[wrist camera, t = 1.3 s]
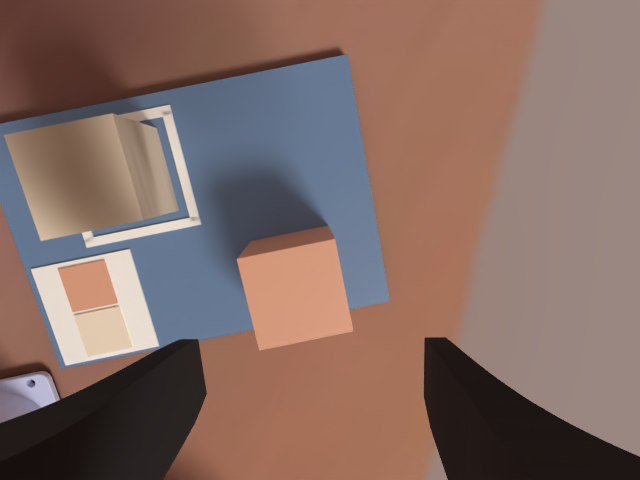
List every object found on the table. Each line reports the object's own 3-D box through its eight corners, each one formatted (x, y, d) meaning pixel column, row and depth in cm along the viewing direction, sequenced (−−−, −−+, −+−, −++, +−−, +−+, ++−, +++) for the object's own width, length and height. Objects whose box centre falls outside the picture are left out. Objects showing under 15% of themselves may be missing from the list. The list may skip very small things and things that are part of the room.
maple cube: (99, 226, 20) (41, 241, 15) (73, 144, 19) (3, 134, 15) (179, 210, 20) (143, 220, 15) (156, 128, 19) (112, 113, 15)
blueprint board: (67, 364, 22) (58, 370, 21) (-17, 130, 19) (-30, 128, 18) (387, 297, 22) (390, 302, 21) (346, 57, 19) (348, 52, 19)
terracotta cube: (268, 314, 21) (259, 350, 17) (251, 241, 20) (236, 259, 16) (342, 298, 21) (353, 330, 17) (328, 225, 20) (335, 238, 16)
